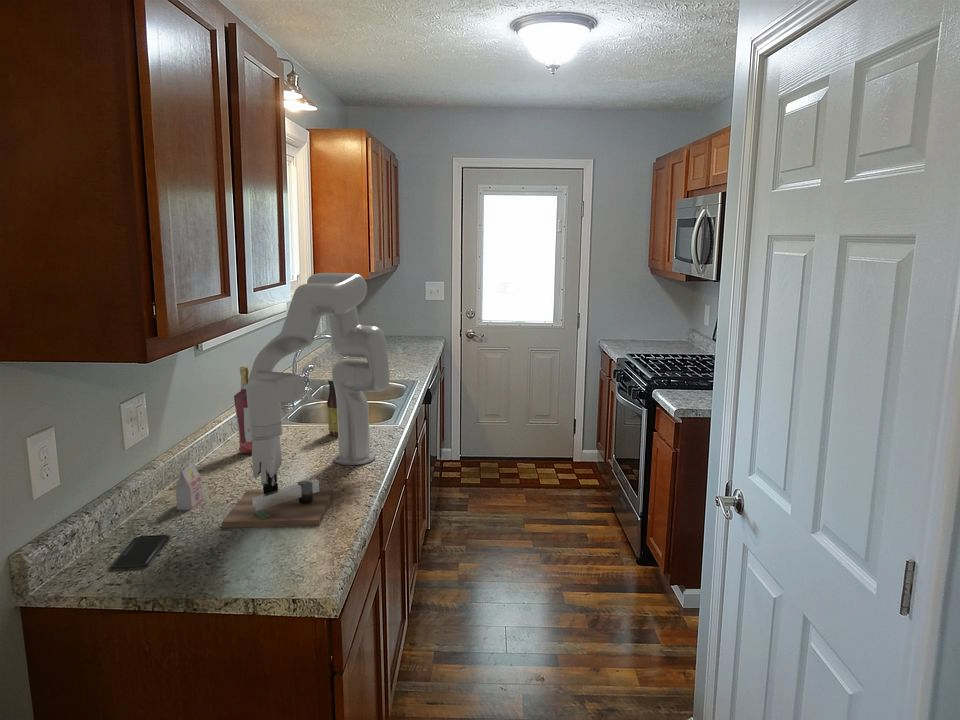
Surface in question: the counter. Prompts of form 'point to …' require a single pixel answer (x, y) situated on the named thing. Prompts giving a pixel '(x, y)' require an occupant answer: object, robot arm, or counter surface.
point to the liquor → (243, 414)
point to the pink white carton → (189, 489)
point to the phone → (140, 552)
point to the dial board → (279, 511)
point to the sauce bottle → (332, 409)
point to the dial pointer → (287, 495)
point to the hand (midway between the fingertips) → (271, 499)
